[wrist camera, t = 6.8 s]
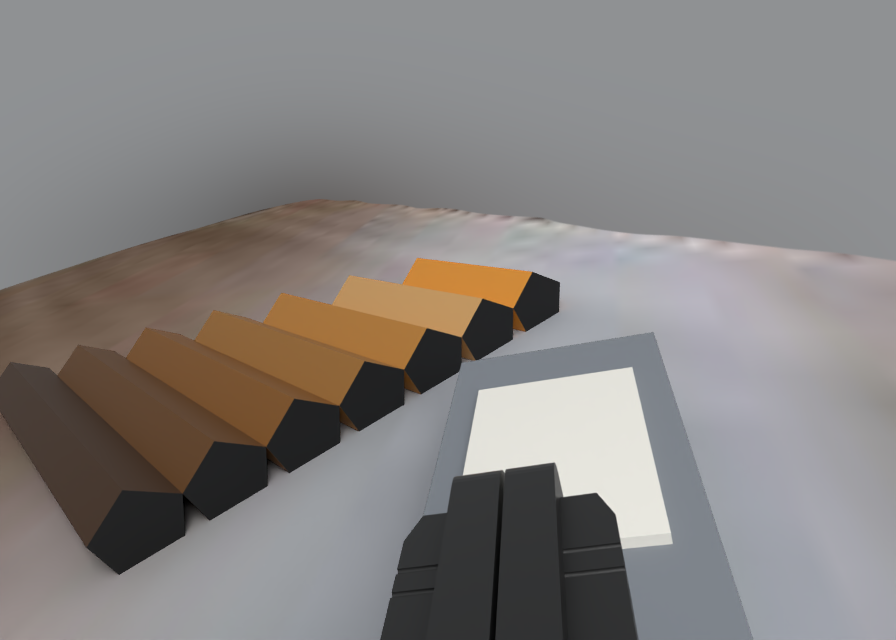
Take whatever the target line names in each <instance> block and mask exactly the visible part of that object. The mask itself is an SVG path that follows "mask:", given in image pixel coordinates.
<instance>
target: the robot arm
mask: <svg viewBox="0 0 896 640" xmlns="http://www.w3.org/2000/svg"><path fill="white" fill-rule="evenodd" d="M397 570H398V574H396V577H395V581H394V585H393V589H392V598H390V602H389V606H388V610H387V614H386V618H385V622H384V627H383V631H382V635H381V639H380V640H639V639H638V633H637V628H636V622H635V616H634V610H633V604H632V599H631V593H630V588H629V583H628V577H627V572H626V567H625V561H624V556H623V551H622V545H621V540H620V535H619V529H618V524H617V519H616V514H615V513H614V512H613V511H612V509H611V508H610V507H609V506H608V505H607V504H606V503H605V502H604V500H603V499H602V498H601V497H600V496H599V495H598V494H597V493H590V494H582V495H575V496H567V497H563V492H562V488H561V483H560V479H559V474H558V470H557V466H556V464H555V462H553V463H546V464H539V465H532V466H525V467H518V468H511V469H506V470H505V473H504V471H503V470H498V471H491V472H484V473H477V474H470V475H463V476H456V477H454V478H453V481H452V485H451V491H450V497H449V503H448V509H447V513H440V514H433V515H425V516H423V517H422V518H421V519H420V521H419V522H418V523H417V525H416V526H415V527H414V529H413V530H412V531H411V533H410V534H409V535H408V537H407V538H406V539H405V541H404V543H403V548H402V552H401V556H400V560H399V564H398V568H397Z"/></svg>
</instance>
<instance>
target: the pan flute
mask: <svg viewBox="0 0 896 640" xmlns="http://www.w3.org/2000/svg"><path fill="white" fill-rule="evenodd" d="M559 292H560V282H558V281H555V280H552V279H550V278H547V277H545V276H542V275H539V274H537V273H534V272H529V271H521V270H513V269H504V268H496V267H488V266H479V265H471V264H463V263H454V262H446V261H438V260H429V259H421V258H417V259H416V261H415V263H414V265H413V266H412V268H411V270H410V272H409V273H408V275H407V277H406V279H405V280H404V282H403V284H396V283H390V282H385V281H379V280H373V279H367V278H361V277H356V276H350V275H349V277H348V278H347V280H346V282H345V284H344V285H343V287H342V289H341V290H340V292H339V294H338V295H337V297H336V299H335V300H334V302H333V304H332V305H330V304H326V303H322V302H317V301H313V300H309V299H305V298H301V297H297V296H293V295H289V294H284V293H281V294H280V296H279V298H278V299H277V301H276V302H275V304H274V306H273V307H272V309H271V311H270V312H269V314H268V316H267V317H266V319H265V320H264V322H263V323H261V322H258V321H255V320H252V319H249V318H245V317H241V316H237V315H232V314H228V313H224V312H220V311H215V310H213V312H212V313H211V315H210V317H209V318H208V320H207V321H206V323H205V325H204V326H203V328H202V329H201V331H200V332H199V334H198V336H197V337H196V339H195V340H192V339H189V338H187V337H185V336H183V335H181V334H176V333H171V332H166V331H161V330H156V329H151V328H145V330H144V331H143V333H142V334H141V336H140V337H139V339H138V340H137V342H136V343H135V345H134V346H133V348H132V349H131V351H130V353H129V354H128V356H127V357H126V358H125V357H123V356H121V355H120V354H118V353H117V352H115V351H110V350H105V349H99V348H93V347H88V346H82V345H78V346H77V347H76V349H75V350H74V352H73V353H72V355H71V356H70V358H69V359H68V361H67V362H66V364H65V365H64V367H63V368H62V370H61V371H60V372H59V374H58V375H56V374H55V373H54V372H53V371H52V370H51V369H50V368H45V367H39V366H32V365H26V364H19V363H13V362H10V364H9V365H8V366H7V368H6V369H5V371H4V372H3V374H2V375H1V377H0V412H1V413H2V415H3V416H4V418H5V419H6V421H7V423H8V424H9V426H10V427H11V429H12V431H13V432H14V434H15V435H16V437H17V438H18V440H19V442H20V443H21V445H22V446H23V448H24V450H25V451H26V453H27V454H28V456H29V457H30V459H31V461H32V462H33V464H34V465H35V467H36V469H37V470H38V472H39V473H40V475H41V476H42V478H43V480H44V481H45V483H46V484H47V486H48V488H49V489H50V491H51V492H52V494H53V495H54V497H55V499H56V500H57V502H58V503H59V505H60V507H61V508H62V510H63V511H64V513H65V514H66V516H67V518H68V519H69V521H70V522H71V524H72V526H73V527H74V529H75V530H76V532H77V533H78V535H79V537H80V538H81V540H82V541H83V543H84V545H85V546H86V548H88V549H89V550H90V551H91V552H92V553H94V554H95V555H96V556H97V557H98V558H100V559H101V560H102V561H103V562H104V563H106V564H107V565H108V566H109V567H111V568H112V569H113V570H114V571H115V572H117V573H118V574H119V575H120V574H121V573H123V572H125V571H126V570H128V569H130V568H131V567H133V566H135V565H136V564H138V563H140V562H141V561H143V560H145V559H146V558H148V557H150V556H151V555H153V554H155V553H156V552H158V551H160V550H161V549H163V548H165V547H166V546H168V545H170V544H171V543H173V542H175V541H176V540H178V539H180V538H181V537H183V536H185V527H184V509H183V495H184V496H185V497H186V498H187V499H188V500H189V501H190V502H191V503H192V504H193V505H194V506H195V507H196V508H197V509H199V510H200V511H201V512H202V513H203V514H204V515H205V516H206V517H207V518H208V519H209V520H212V519H213V518H215V517H217V516H218V515H220V514H222V513H223V512H225V511H227V510H228V509H230V508H232V507H233V506H235V505H237V504H238V503H240V502H242V501H243V500H245V499H247V498H248V497H250V496H252V495H253V494H255V493H257V492H258V491H260V490H262V489H263V488H265V487H267V486H268V485H267V459H269V460H270V461H272V462H273V463H275V464H276V465H278V466H279V467H281V468H282V469H284V470H286V471H287V472H289V473H290V472H292V471H294V470H295V469H297V468H299V467H300V466H302V465H304V464H305V463H307V462H309V461H310V460H312V459H314V458H315V457H317V456H319V455H320V454H322V453H324V452H325V451H327V450H329V449H330V448H332V447H334V446H335V445H337V444H339V443H340V422H341V423H343V424H345V425H347V426H349V427H351V428H353V429H355V430H357V431H361V430H362V429H364V428H366V427H367V426H369V425H371V424H372V423H374V422H376V421H377V420H379V419H381V418H382V417H384V416H386V415H387V414H389V413H391V412H392V411H394V410H396V409H397V408H399V407H401V406H402V405H404V388H405V389H408V390H411V391H413V392H416V393H419V394H422V393H424V392H426V391H427V390H429V389H431V388H432V387H434V386H436V385H438V384H439V383H441V382H443V381H444V380H446V379H448V378H449V377H451V376H453V375H454V374H456V373H458V372H459V371H460V367H461V357H463V358H466V359H470V360H473V361H476V360H479V359H481V358H483V357H484V356H486V355H488V354H489V353H491V352H493V351H494V350H496V349H498V348H499V347H501V346H503V345H504V344H506V343H508V342H509V341H511V340H513V329H516V330H521V331H525V332H526V331H528V330H530V329H531V328H533V327H535V326H536V325H538V324H540V323H541V322H543V321H545V320H546V319H548V318H550V317H551V316H553V315H555V314H556V313H558V312H559Z"/></svg>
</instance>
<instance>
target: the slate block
mask: <svg viewBox="0 0 896 640" xmlns="http://www.w3.org/2000/svg"><path fill="white" fill-rule="evenodd" d="M553 462H555V464H556V466H557V470H558V474H559V479H560V483H561V488H562V492H563V497H567V496H575V495H582V494H590V493H597V494H598V495H599V496H600V497H601V498H602V499H603V500H604V502H605V503H606V504H607V505H608V506H609V507H610V508H611V509H612V511H613V512H614V513H615V514H616V519H617V524H618V529H619V535H620V540H621V545H622V551H623V556H624V561H625V567H626V572H627V577H628V583H629V588H630V593H631V599H632V604H633V610H634V616H635V622H636V628H637V633H638V639H639V640H753V637H752V634H751V631H750V628H749V625H748V622H747V619H746V615H745V612H744V609H743V606H742V603H741V600H740V597H739V594H738V591H737V588H736V585H735V582H734V579H733V575H732V572H731V569H730V566H729V563H728V560H727V557H726V554H725V551H724V548H723V545H722V542H721V539H720V536H719V532H718V529H717V526H716V523H715V520H714V517H713V514H712V511H711V508H710V505H709V502H708V499H707V496H706V492H705V489H704V486H703V483H702V480H701V477H700V474H699V471H698V468H697V465H696V462H695V459H694V456H693V453H692V449H691V446H690V443H689V440H688V437H687V434H686V431H685V428H684V425H683V422H682V419H681V416H680V413H679V409H678V406H677V403H676V400H675V397H674V394H673V391H672V388H671V385H670V382H669V379H668V376H667V373H666V370H665V366H664V363H663V360H662V357H661V354H660V351H659V348H658V345H657V342H656V339H655V336H654V333H653V332H651V333H645V334H639V335H632V336H626V337H620V338H614V339H607V340H601V341H595V342H589V343H582V344H576V345H570V346H564V347H557V348H551V349H545V350H538V351H532V352H526V353H520V354H513V355H507V356H501V357H495V358H488V359H482V360H476V361H470V362H463V363H462V364H461V367H460V371H459V375H458V379H457V383H456V387H455V391H454V395H453V399H452V403H451V407H450V411H449V415H448V419H447V423H446V427H445V431H444V435H443V439H442V443H441V447H440V451H439V455H438V459H437V463H436V467H435V471H434V475H433V479H432V483H431V487H430V491H429V495H428V499H427V503H426V507H425V511H424V515H423V516H425V515H433V514H440V513H447V509H448V503H449V497H450V491H451V485H452V481H453V478H454V477H456V476H463V475H470V474H477V473H484V472H491V471H498V470H503V471H504V473H505V470H506V469H511V468H518V467H525V466H532V465H539V464H546V463H553Z"/></svg>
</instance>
